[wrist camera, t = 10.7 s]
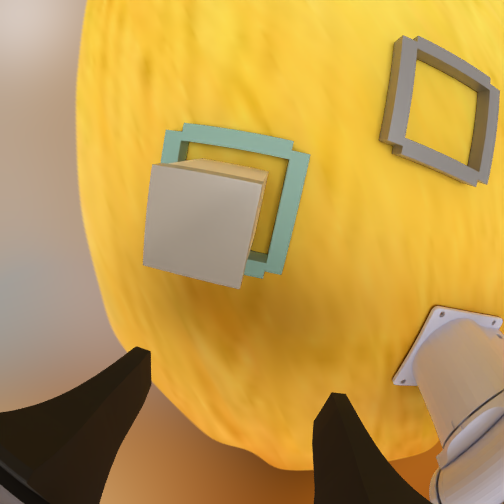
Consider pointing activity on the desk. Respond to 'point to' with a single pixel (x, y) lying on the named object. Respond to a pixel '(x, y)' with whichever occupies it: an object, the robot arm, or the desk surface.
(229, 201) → the plug
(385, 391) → the desk surface
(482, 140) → the socket
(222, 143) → the socket
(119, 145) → the desk surface
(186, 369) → the desk surface
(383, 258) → the desk surface
